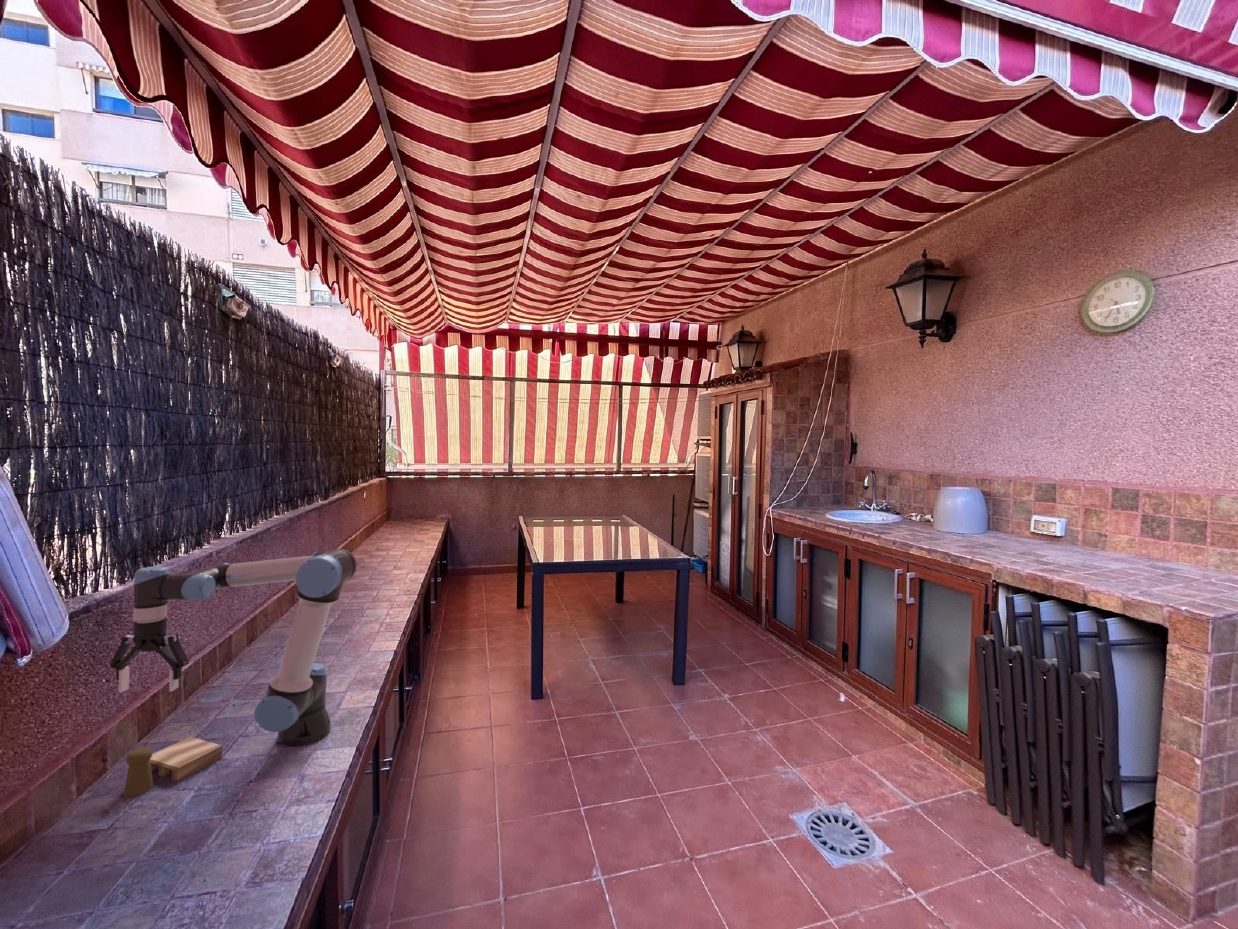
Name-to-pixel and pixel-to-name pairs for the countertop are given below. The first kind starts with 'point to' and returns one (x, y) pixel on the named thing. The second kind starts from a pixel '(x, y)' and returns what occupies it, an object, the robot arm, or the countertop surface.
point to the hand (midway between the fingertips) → (148, 690)
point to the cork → (138, 773)
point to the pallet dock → (185, 758)
